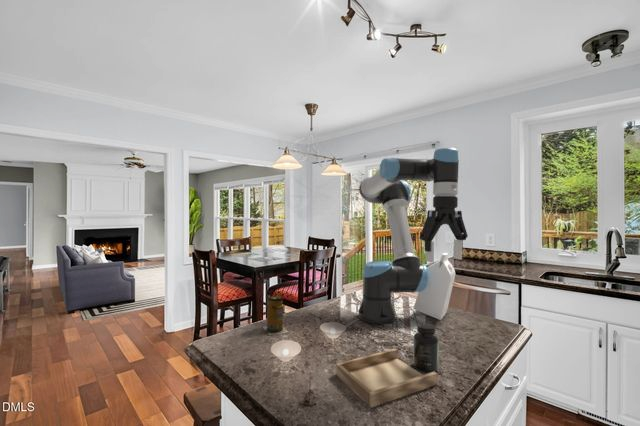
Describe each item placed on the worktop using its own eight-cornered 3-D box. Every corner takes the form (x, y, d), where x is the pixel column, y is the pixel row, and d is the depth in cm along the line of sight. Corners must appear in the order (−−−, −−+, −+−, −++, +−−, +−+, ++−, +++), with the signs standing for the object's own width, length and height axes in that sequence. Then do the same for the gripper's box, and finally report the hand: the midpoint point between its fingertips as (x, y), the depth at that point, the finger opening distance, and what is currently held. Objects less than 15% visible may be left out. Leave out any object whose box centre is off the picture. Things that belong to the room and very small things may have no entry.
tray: (395, 358, 96) (395, 348, 96) (436, 384, 82) (437, 373, 82) (335, 374, 86) (335, 363, 86) (370, 408, 72) (371, 395, 72)
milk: (421, 302, 146) (435, 248, 142) (446, 312, 139) (461, 256, 136) (413, 308, 136) (428, 251, 132) (440, 320, 129) (456, 260, 126)
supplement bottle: (443, 369, 90) (444, 327, 90) (427, 375, 86) (428, 332, 86) (423, 359, 96) (424, 319, 95) (408, 365, 92) (408, 324, 92)
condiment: (281, 324, 122) (281, 293, 122) (288, 332, 114) (289, 299, 114) (262, 327, 119) (262, 295, 119) (269, 336, 111) (269, 302, 111)
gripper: (427, 194, 94) (426, 264, 95) (479, 196, 106) (478, 259, 107) (409, 195, 101) (407, 261, 101) (460, 197, 113) (459, 256, 113)
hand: (444, 260), depth 104 cm, fingers open, 13 cm apart
